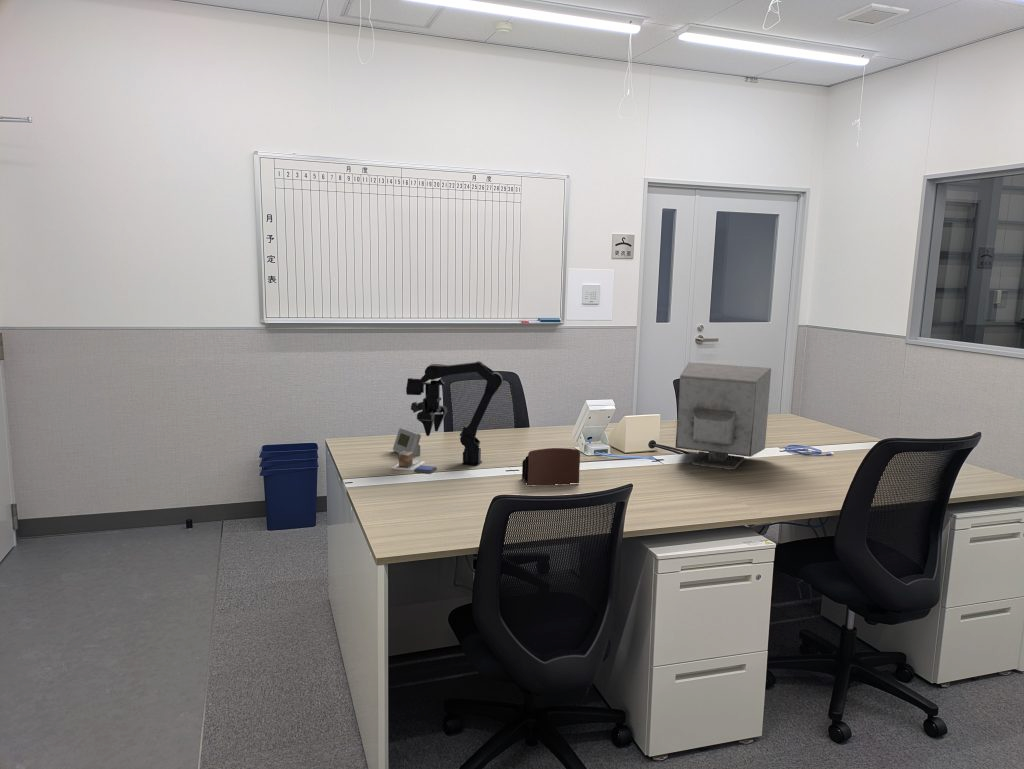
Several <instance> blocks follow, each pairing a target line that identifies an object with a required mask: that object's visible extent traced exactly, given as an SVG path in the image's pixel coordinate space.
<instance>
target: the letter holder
mask: <svg viewBox="0 0 1024 769" xmlns="http://www.w3.org/2000/svg"><path fill="white" fill-rule="evenodd" d="M521 464H522V466H521V480H522V481H523V480H524V481H525V482H526V483H527V485H548V486H556V485H555V484H570V483H579V484H580V468H581V467H580V466H581V451H580V450H579V449H575V448H565V447H564V448H563V447H549V448H540V449H536V450H530V451H529V452H528V455H527V456H525V459H523V460H522V463H521ZM524 481H523V482H524ZM525 482H524V483H525ZM526 483H525V484H526ZM527 485H526V486H527Z"/></svg>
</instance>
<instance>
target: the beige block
mask: <svg viewBox="0 0 1024 769" xmlns="http://www.w3.org/2000/svg"><path fill="white" fill-rule="evenodd" d="M412 460H413V458H412V452H407V451H403V452H401V453H399V454H398V463H399V467H403V468H409V467H411V466H412Z"/></svg>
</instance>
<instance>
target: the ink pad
mask: <svg viewBox="0 0 1024 769" xmlns="http://www.w3.org/2000/svg"><path fill="white" fill-rule="evenodd" d="M437 470H438V468H437V467H436V466H434V465H432V466H431V465H425V464H423V465H420V466H419V467H417V468H416V469H414V473H420V474H421V473H423V474H430V475H431V474H433V473H434V472H436V471H437Z"/></svg>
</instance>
